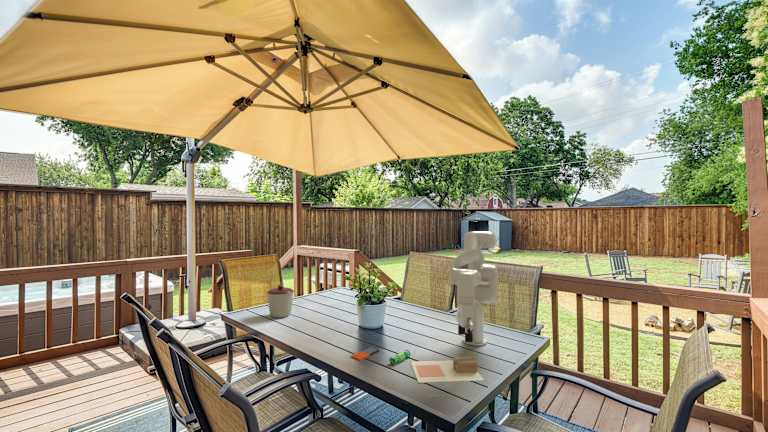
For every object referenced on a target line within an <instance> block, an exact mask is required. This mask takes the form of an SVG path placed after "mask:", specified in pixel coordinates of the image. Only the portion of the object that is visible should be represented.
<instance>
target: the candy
mask: <svg viewBox="0 0 768 432" xmlns="http://www.w3.org/2000/svg"><path fill="white" fill-rule="evenodd" d="M410 357H411V352H410V350H408V349H404V351H403V352H399V353H397V354H396V355H395V356H393V357H392V356H391V357H390V358H389V359H388V360H389V363H390V364H391V365H396V364H397V363H400V362H402V361H404V360H405V359H406V358H410Z"/></svg>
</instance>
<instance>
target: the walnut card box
mask: <svg viewBox="0 0 768 432" xmlns="http://www.w3.org/2000/svg"><path fill="white" fill-rule="evenodd" d="M452 360H453V367H454V369H455V370H456V372H457V373H475V372H477V371H478V361H477V360H476V359H475V357H473V356H453V359H452Z"/></svg>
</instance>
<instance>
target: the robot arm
mask: <svg viewBox="0 0 768 432" xmlns="http://www.w3.org/2000/svg"><path fill="white" fill-rule="evenodd" d="M463 243H464V244H463V250H462V252H461V253H460V254H458V255H457V256H456V257H455V258H454V259H453V260H452V263H451V264H450V269H449V270H450V271H449V281H450V283H451V284H453V285H455V286H456V287H457V288H456V303H457V305H456V322H457V325H458V326H457V327H458V330H457V333H458V335H461V336H463V335H464V337H462V342H463V343H464V344H466V345H469V346H475V347H479V346H484V345H486V344H487V343H488V342H487V339H486V338H484V335H485V333H484V332H485V330H484V325H485V324H484V322H485V320H484V319H485V317H484V316H485V311H484V307H483V306H482V304H481V303H485V304H486V303H487V304H495V303H497V302H498V298H499V269H498V268H497V266H496V265H493V264H486V263H485V254H484V252H483V251H482V249H494V248H495V247H496V245H497V236H496V233H495V232H494V231H477V230H475V231H473V230H472V231H468V232H465V233H464V234H463ZM463 266H467V268H461V267H463ZM482 283H488V284H482Z"/></svg>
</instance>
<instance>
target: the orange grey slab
mask: <svg viewBox="0 0 768 432" xmlns="http://www.w3.org/2000/svg"><path fill="white" fill-rule="evenodd" d="M379 352H380V349H376V348H375V347H373V346H372V347H371V346H369V347H367V348H365V349H363V350H361V351H359V352H356V353H354V354H352V355H350V358H351V359H355V360H356V361H359V362H361V361H363V360H365V359H367V358H369V357H371V356H372V355H375V354H377V353H379Z"/></svg>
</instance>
